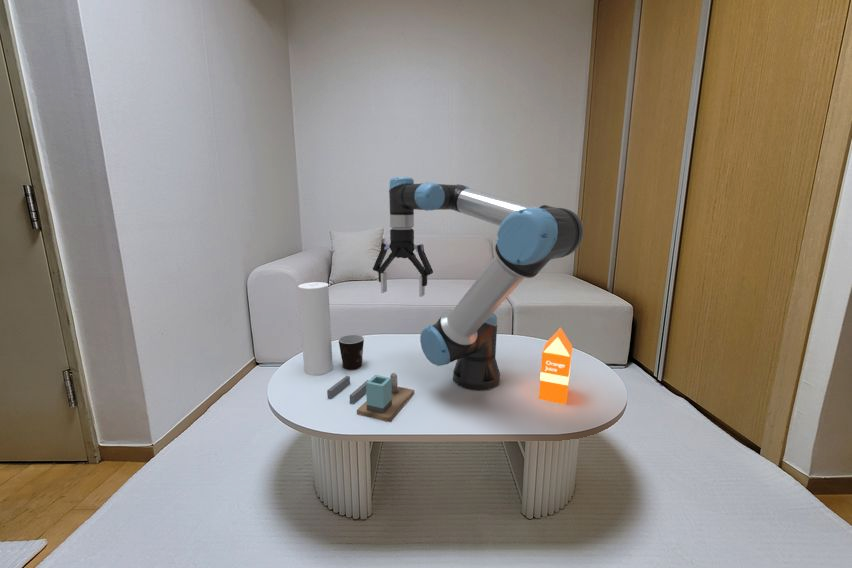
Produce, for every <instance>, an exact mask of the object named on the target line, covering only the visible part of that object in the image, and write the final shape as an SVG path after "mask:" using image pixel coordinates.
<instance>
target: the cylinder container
mask: <svg viewBox="0 0 852 568" xmlns="http://www.w3.org/2000/svg"><path fill="white" fill-rule="evenodd" d="M297 287H298V288H297V289H298V301H299V315H300V327H301V329H300V331H301V343H302V357H303V371H304V373H305V374H306V375H310V376H321V375H322V376H323V375H325V374H328V373H330V372H331V371H332V370H333V369H334V366H333V364H334V363H333V345H332V330H331V311H330V306H331V305H330V290H329V284H328V282H324V281H323V282H322V281H320V282H319V281H317V282H316V281H313V282H305V283H301V284H299V285H298V286H297Z"/></svg>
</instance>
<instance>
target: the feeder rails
mask: <svg viewBox="0 0 852 568" xmlns="http://www.w3.org/2000/svg"><path fill="white" fill-rule="evenodd" d="M369 380H370V379H366V381H364V382H363V383H362V384H360V386H358V388H356V389H355V390H353V392H352V393H351V394H349V404H352V405H354V404H355V403H356V402H358V401H359V400H360V399H361V398H362V397H363V396H364V395H365V394H366V382H368V381H369ZM349 385H351V376H350V375H349V376H348V375H346V376H344V377H343V378H342V379H340V380H339V381H338V382H337V383H335V384H334V385H332V386H331V387H330V388H328V389H327V390H326V393H327V399H331V400H332V399H333V398H334V397H335V396H337V395H338V394H339V393H340V392H342V391H343V390H344V389H345V388H347V387H348V386H349Z"/></svg>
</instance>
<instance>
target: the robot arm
mask: <svg viewBox="0 0 852 568" xmlns="http://www.w3.org/2000/svg"><path fill="white" fill-rule="evenodd" d="M414 181H415V180H414V178H412V177H406V176H403V177H401V176H400V177H398V176H396V177H392V178H390V180H389V190H388V193H389V194H388V195H389V227H390V228H391V229H390V230H389V235H390V236H389V239H390V243H388V242H383V243H381V245H380V251H379V253H378V256H377V259H376V260H375V262H374V264H373V267H372V271H375V272H377V273H378V283H380V293H381V294H384V293H386V292H388V285H387V284H388V281H387V280H388V279H387V276H388V275H387V271H386V269H387V268H388V267H390V264H391V263H392V262H393V260H394V259H399V258H402V259H408V260H409V261H410V262H411V263H412V265H413V266H414V267H415V268H416V270H417V271H418V273H419V274H420V276H419V279H418V280H419V283H418V284H419V285H418V286H419V288H418V289H419V290H418V293H419V294H418V295H419V296H418V297H420V298H421V297H423V296H425V287H426V286H428V276H430V275H432V274H434V270H433V268H432V266H431V263H430V261H429V259H428V257H427V255H426V253H425V249H424V247H425V246H424V244H423V243H422V244H421V243H420V244H417V245H416V244H415V243H414V242H415V230H414V229H413V228H414V226H415V224H414V223H415V218H414V217H415V211H414V210H416V211H417V210H418V211H419V210H420V211H426V212H427V211H435V210H437V211H438V210H450V211H455V212H458V213H462V214H464V215H467V216H470V217H473V218H476V219H478V220H481V221H485V222H487V223H489V224H493V225H496V226H499V228H498V230H497V234H496V236H497V239H496V244H495V245H494V252H495V256H494V257H493V258H492V259H491V261H490V262H489V263H488V264H487V266H486V267H485V268H484V270H483V271H482V272H481V274H479V276H478V278H477V279H476V280H475V281H474V282H473V284H472V285H471V287H469V289H468V290H467V291H466V292H465V294H464V295H463V296H462V298H461V299H460V300H459V301H458V303H457V304H456V305H455V307H454V308H452V310H451V309H450V310H446V311H445V312H443V314H442V315H441V316H440V318H438V319H437V321H436V323H433V324H432V325H431V324H430V325H427V326H426V327H424V328H423V329H422V330H421V332H420V338H419V341H420V346H421V350H422V352H423V355H424V356H425V357H426V359H427V360H428V361H429V362H430V363H431V364H433V365H435V366H437V367H442V366H445V365H449V364H451V363H453V362H454V361H456V362H455V365H454V368H453V371H452V379H453V382H454V383H455V384H456V385H457V386H460V387H461V388H463V389H467V390H471V391H487V390H488V391H489V390H491V389H494V388H495V387H498V386H499V385H500V382H501V373H500V369H499V365H498V363H497V359H496V358H497V357H496V355H497V353H496V352H497V333H498V326H499V325H498V317H497V315H496V313H495V311H496V310H497V309H498V308H499V307H500V306H501V305H502V304H503V302H505V301H506V299H507V298H508V297H509V296H510V294H511V293H513V291H515V289H516V288H517V287H518V286H519V284H521V283H522V281H523V280H525V279H526V278H527V279H531V278H532V279H533V278H535V276H537V275H538V274H539V272H541V271H542V270H543V269H544V267H545V266H546V265H547V264H548V263H549V262H550V261H552V260H555V259H560V258H564V257H568V256H569V255H571V254H573V253H575V252H576V250H578V248H579V247H580V245H581V244H582V241H583V238H584V234H585V233H584V232H585V231H584V230H585V229H584V224H583V222H582V220H581V217H580V216H579V215H577V213H575V212H574V211H572V210H571V209H568V208H566V207H565V208H563V207H554V206H549V205H547V204H541V205H539V206H534V205H531V204H526V203H523V202H520V201H515V200H512V199H509V198H505V197H502V196H497V195H494V194H491V193H490V194H489V193H486V192H483V191H479V190H476V189H472V188H470V186H468V185H464V184H460V183H458V184H445V183H443V184H442V183H434V182H428V181H427V182H423V183H415V182H414ZM389 249H390V251H391V252H390V253H389V255H388V257H387V258H386V259H385V257H386V255H387V252H388V250H389ZM414 251H416V252H417V255H418V257H419V259H420V261H419V259H418V257H417V256H416V254H415V253H414ZM384 259H385V261H384ZM383 261H384V262H383Z"/></svg>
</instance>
